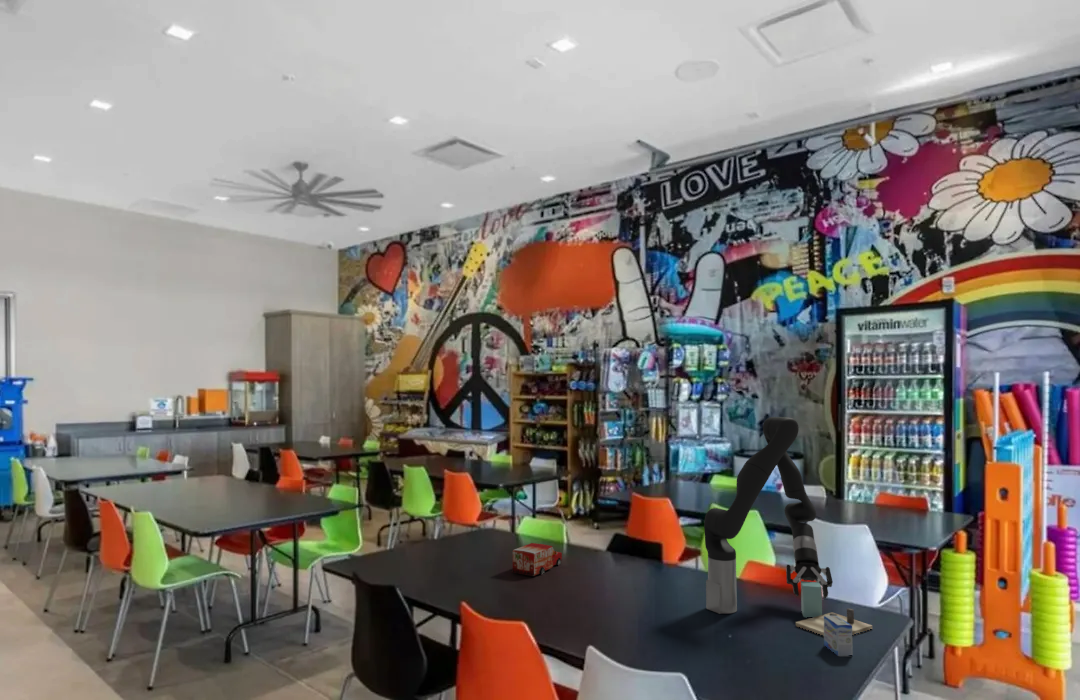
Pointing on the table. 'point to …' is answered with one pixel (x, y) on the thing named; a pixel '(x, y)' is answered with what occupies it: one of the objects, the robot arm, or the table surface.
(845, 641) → the medicine box
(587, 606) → the table surface
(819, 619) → the pin board
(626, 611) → the table surface
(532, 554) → the ambulance
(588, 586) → the table surface
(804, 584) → the grey-green tall block
